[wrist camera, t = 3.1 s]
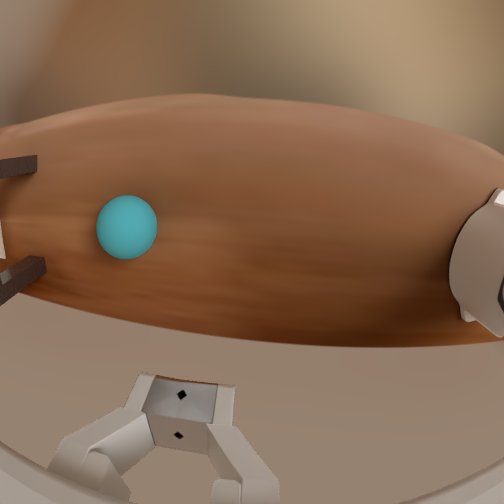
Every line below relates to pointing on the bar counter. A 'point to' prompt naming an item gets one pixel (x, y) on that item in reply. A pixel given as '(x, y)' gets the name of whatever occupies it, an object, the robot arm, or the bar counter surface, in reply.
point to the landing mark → (1, 245)
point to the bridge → (30, 267)
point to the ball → (126, 227)
